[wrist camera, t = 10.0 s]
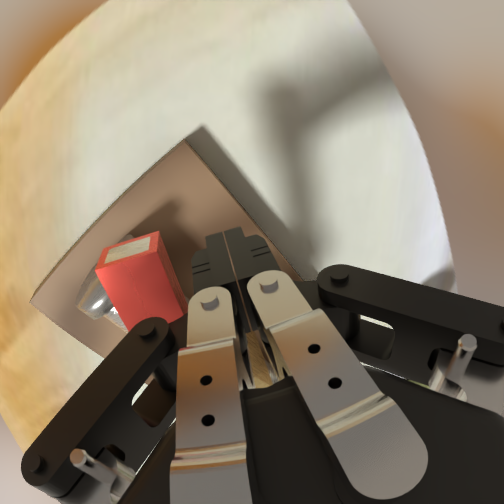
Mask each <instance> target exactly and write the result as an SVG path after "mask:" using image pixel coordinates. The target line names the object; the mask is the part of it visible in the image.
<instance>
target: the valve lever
mask: <svg viewBox="0 0 504 504" xmlns="http://www.w3.org/2000/svg"><path fill="white" fill-rule="evenodd" d="M95 272H96V274H97V276H98V278H99V280H100V282H101V283H102V285H103V287H104V289H105V291H106V293H107V295H108V297H109V298H110V300H111V302H112V304H113V306H114V307H115V309H116V311H117V313H118V314H119V316H120V318H121V320H122V321H123V323H124V325H125V326H126V328H127V330H128V331H130V330H131V329H132V328H133V327H134V326H135V325H136V324H137V323H139V322H140V321H142V320H144V319H146V318H150V317H161V318H163V319H165V320H166V321H167V322H168V324H169V323H171V322H173V321H175V320H176V319H178V318H180V317H182V316H183V315H185V314H186V313H187V312H188V304H187V302H186V299H185V297H184V294H183V292H182V289H181V287H180V285H179V282H178V280H177V277H176V274H175V272H174V269H173V267H172V264H171V262H170V259H169V256H168V254H167V251H166V248H165V246H164V243H163V240H162V238H161V235H160V232H159V231H156V232H153V233H150V234H147V235H143V236H140V237H137V238H134V239H131V240H127V241H124V242H121V243H118V244H115V245H112V246H109V247H106V248H103V250H102V253H101V255H100V258H99V261H98V263H97V266H96V269H95Z"/></svg>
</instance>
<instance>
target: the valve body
mask: <svg viewBox="0 0 504 504" xmlns="http://www.w3.org/2000/svg"><path fill="white" fill-rule="evenodd" d="M131 239H134V237H133V236H132V235H131V234H129V235H126V236H124V237H123V238H122V239H121V240H120V241H119V242H118V243H121V242H124V241H127V240H131ZM118 243H117V244H118ZM96 266H97V264H96V265H95V266H94V267H93V268H92V269H91V271H90V272H89V274H88V275H87V277H86V278H85V280H84V282H83V284H82V285H81V287H80V289H79V292H78V294H77V297H76V300H75V306H76V307H77V308H78V309H80V310H81V311H82V312H83V313H85V314H86V315H87V316H89V317H90V318H91V319H94V320H95V319H98V318H100V317H102V316H104V317H105V318H107V319H108V320H109V321H111V322H112V323H114V324H115V325H116V326H118V327H119V328H120V329H122V330H123V331H124V332H126V333H128V332H129V331H128V330H127V328H126V326H125V325H124V323H123V321H122V320H121V318H120V316H119V314H118V313H117V311H116V309H115V307H114V306H113V304H112V302H111V300H110V298H109V297H108V295H107V293H106V291H105V289H104V287H103V285H102V283H101V282H100V280H99V278H98V276H97V274H96V272H95V269H96ZM184 297H185V299H186V302H187V304H188V305H189V301H190V299H188V298H187V297H186V296H185V295H184ZM246 336H247V340H248V349H249V353H250V359H251V365H252V371H253V377H254V383H255V388H265V387H269V386H271V385H273V384H275V383H276V382H278V379H277V376H276V374H275V372H274V370H273V368H272V365H271V364H270V363H269V362H268V361H266V360H265V359H264V357H263V354H262V351H261V348H260V346H259V343H258V340H257V337H256V334H255V332H253V331H252V330H251V332H249V333H246Z"/></svg>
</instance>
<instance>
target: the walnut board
mask: <svg viewBox="0 0 504 504" xmlns="http://www.w3.org/2000/svg"><path fill="white" fill-rule="evenodd" d="M239 226H241V228H242V231H243V233H244V236H245V237H248V236H251V235H255V234H257V235H259V236H261V237H263V238H264V239H265V240H266V242H267V244H268V247H269V248H270V250H271V252H272V254H273V256H274V258H275V259H276V261H277V263H278V265H279V267H280V269H281V271H282V272H284V273H286V274H287V275H288V276H289V277H290V278H291V280H295V281H303V280H302V279H301V277H300V276H299V275H298V274H297V272H296V271H295V270H294V269H293V267H292V266H291V265H290V264H289V263H288V261H287V260H286V259H285V258H284V256H283V255H282V254H281V253H280V252H279V250H278V249H277V248H276V247H275V246H274V244H273V243H272V242H271V241H270V239H269V238H268V237H267V236H266V235H265V233H264V232H263V231H262V230H261V229H260V227H259V226H258V225H257V224H256V223H255V221H254V220H253V219H252V218H251V217H250V215H249V214H248V213H247V212H246V211H245V209H244V208H243V207H242V206H241V205H240V203H239V202H238V201H237V200H236V199H235V197H234V196H233V195H232V194H231V193H230V192H229V190H228V189H227V188H226V187H225V186H224V184H223V183H222V182H221V181H220V180H219V179H218V177H217V176H216V175H215V174H214V173H213V171H212V170H211V169H210V168H209V167H208V166H207V164H206V163H205V162H204V161H203V160H202V159H201V157H200V156H199V155H198V154H197V153H196V152H195V150H194V149H193V148H192V147H191V146H190V145H189V143H188V142H187V141H186V140H185V139H183V140H182V141H181V142H180V143H179V144H177V145H176V146H175V147H174V148H173V149H171V150H170V151H169V152H168V153H167V154H166V155H165V156H163V157H162V158H161V159H160V160H159V161H158V162H157V163H155V164H154V165H153V166H152V167H151V168H150V169H149V170H148V171H147V172H145V173H144V174H143V175H142V176H141V177H140V178H139V179H138V180H137V181H136V182H135V183H134V184H132V185H131V186H130V187H129V188H128V189H127V190H126V191H125V192H124V193H123V194H122V195H121V196H120V197H119V198H118V199H117V200H116V201H115V202H114V203H113V204H112V205H111V206H110V207H109V208H108V209H107V210H106V211H105V212H104V213H103V214H102V215H101V216H100V217H99V218H98V219H97V220H96V221H95V222H94V223H93V224H92V226H91V227H90V228H89V229H88V230H87V231H86V232H85V233H84V234H83V235H82V236H81V237H80V239H79V240H78V241H77V242H76V243H75V244H74V245H73V246H72V247H71V249H70V250H69V251H68V252H67V253H66V254H65V255H64V257H63V258H62V259H61V260H60V261H59V262H58V264H57V265H56V266H55V267H54V268H53V270H52V271H51V272H50V273H49V274H48V276H47V277H46V278H45V279H44V281H43V282H42V283H41V284H40V286H39V287H38V288H37V290H36V291H35V292H34V294H33V296H32V298H31V300H30V302H29V303H31V304H32V305H33V306H34V307H35V308H37V309H38V310H39V311H40V312H41V313H43V314H44V315H45V316H46V317H48V318H49V319H50V320H52V321H53V322H54V323H55V324H57V325H58V326H59V327H61V328H62V329H63V330H65V331H66V332H67V333H69V334H70V335H71V336H73V337H74V338H76V339H77V340H78V341H80V342H81V343H83V344H84V345H86V346H87V347H88V348H90V349H91V350H93V351H94V352H96V353H97V354H99V355H100V356H102V357H103V358H106V357H107V356H108V355H109V353H110V352H111V351H112V350H113V349H114V348H115V347H116V346H117V345H118V343H119V342H120V341H121V340H122V339H123V338H124V337H125V336H126V335H127V333H126V332H124V331H123V330H122V329H120V328H119V327H118V326H116V325H115V324H114V323H112V322H111V321H109V320H108V319H107V318H105V317H104V316H102V317H100V318H98V319H95V320H94V319H91V318H90V317H89V316H87V315H86V314H85V313H83V312H82V311H81V310H80V309H78V308H77V307H76V306H75V300H76V297H77V294H78V292H79V289H80V287H81V285H82V284H83V282H84V280H85V278H86V277H87V275H88V274H89V272H90V271H91V269H92V268H93V267H94V266H95V265H96V264H97V263H98V261H99V258H100V255H101V253H102V250H103V248H106V247H109V246H112V245H115V244H117V243H118V242H119V241H120V240H121V239H122V238H123V237H124V236H126V235H129V234H131V235H132V236H133V237H134V238H137V237H140V236H143V235H147V234H150V233H153V232H156V231H159V232H160V235H161V238H162V240H163V243H164V246H165V248H166V251H167V254H168V256H169V259H170V262H171V264H172V267H173V269H174V272H175V274H176V277H177V280H178V282H179V285H180V287H181V289H182V292H183V294H184V295H185V296H186V297H187V298H188V299H191V298H192V297H193V296H194V290H193V278H192V275H193V274H192V264H191V259H192V257H193V255H194V254H195V252H196V251H199V250H202V249H206V248H207V246H206V239H205V236H208V235H211V234H215V233H218V232H223V231H225V230H229V229H232V228H236V227H239ZM223 236H224V239H225V235H224V232H223ZM225 243H226V246H227V242H226V239H225ZM227 250H228V253H229V249H228V246H227ZM229 257H230V260H231V256H230V253H229ZM231 264H232V267H233V263H232V260H231ZM233 271H234V274H235V270H234V267H233ZM235 278H236V281H237V285H238V288H239V292H240V295H241V299H242V302H243V306H244V309H245V312H246V316H247V319H248V323H249V326H250V329H251V330H252V328H251V324H250V321H249V318H248V314H247V311H246V308H245V304H244V301H243V297H242V294H241V291H240V287H239V284H238V280H237V277H236V274H235ZM253 332H255V334H256V337H257V340H258V343H259V346H260V348H261V351H262V354H263V357H264V359H265V360H266V361H268V362H269V363H270V361H269V359H268V356H267V354H266V352H265V350H264V347H263V344H262V340H261V337H260V334H259V331H258V330H256V331H253ZM270 364H271V363H270ZM152 380H153V376H152V375H150V376H149V378H148V379H147V380H146V381H145V383H146V384H148V385H149V384H150V382H151V381H152Z"/></svg>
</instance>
